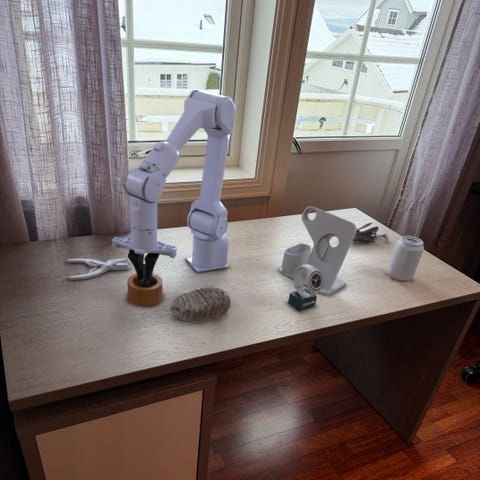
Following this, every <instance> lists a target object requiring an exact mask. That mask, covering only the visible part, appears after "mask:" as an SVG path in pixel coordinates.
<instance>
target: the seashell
mask: <svg viewBox="0 0 480 480" xmlns="http://www.w3.org/2000/svg"><path fill="white" fill-rule="evenodd" d="M231 304H232V300H231V297H230V295H229V293H228V292H227V291H225V290H224V289H223V288H221V287H218V286H212V287H211V286H208V287H207V286H205V287H200V288H195V289H192V290H191V291H187V292H182V293H180V294H179V295H178V296H176V297H175V298H174V299H173V301H172V303H171V306H170V311H171V314H172V315H173V317H174V318H175V319H177V320H179V321H182V322H188V323H191V322H198V323H199V322H208V321H213V320H217V319H219V318H221V317H223V316H226V314H227V313H228V312H229V310H230V307H231Z"/></svg>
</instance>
